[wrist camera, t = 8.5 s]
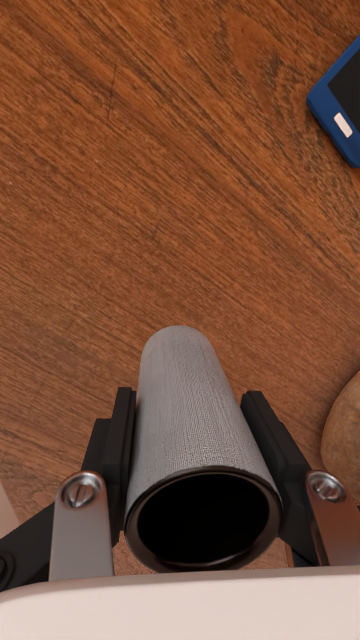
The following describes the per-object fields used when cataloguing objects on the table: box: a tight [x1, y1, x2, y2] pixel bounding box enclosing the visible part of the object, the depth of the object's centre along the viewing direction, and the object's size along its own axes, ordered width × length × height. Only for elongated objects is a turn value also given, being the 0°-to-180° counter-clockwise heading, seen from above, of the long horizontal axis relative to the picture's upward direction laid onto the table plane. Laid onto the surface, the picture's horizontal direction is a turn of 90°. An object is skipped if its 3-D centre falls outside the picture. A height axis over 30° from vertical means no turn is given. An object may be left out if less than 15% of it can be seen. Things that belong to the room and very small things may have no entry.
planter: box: [124, 325, 283, 574], centre depth 13 cm, size 4×4×10 cm
